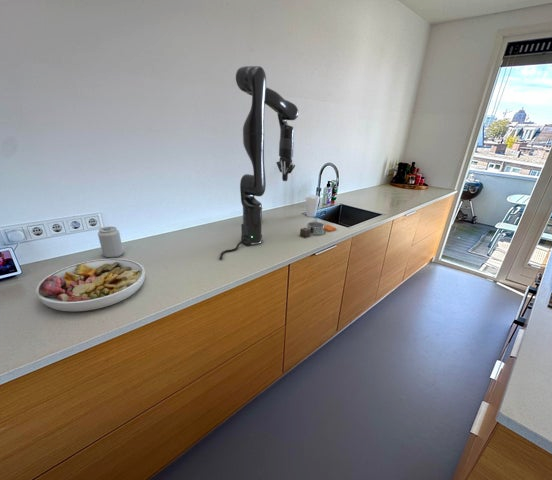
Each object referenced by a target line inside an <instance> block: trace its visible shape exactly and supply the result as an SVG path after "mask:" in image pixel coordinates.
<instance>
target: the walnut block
mask: <svg viewBox="0 0 552 480" xmlns="http://www.w3.org/2000/svg"><path fill="white" fill-rule="evenodd" d="M310 231H311V229H308V228H307V227H302V228H300V229H299V236H300V237H302V238H305V239H306V238H308V237H311V234H310Z"/></svg>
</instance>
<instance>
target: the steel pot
mask: <svg viewBox="0 0 552 480" xmlns="http://www.w3.org/2000/svg"><path fill="white" fill-rule="evenodd" d="M325 225H326V224H324V223H323V222H320V221H310V222H307V226H306V228H308V229H311V231H310V235H312V236H321V235H324V234H325V230H324V229H325Z"/></svg>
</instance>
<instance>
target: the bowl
mask: <svg viewBox="0 0 552 480" xmlns="http://www.w3.org/2000/svg"><path fill="white" fill-rule="evenodd" d="M145 278H146V272H145V267H144V266H143V265H142V264H141V263H139V262H137V261H134V260H131V259H126V258H100V259H93V260H87V261H83V262H79V263H75V264H72V265H69V266H66V267H63V268H59V269H58V270H56V271H54V272H52V273H50V274H49V275H47V276H46V277H44V278H43V279H42V280H41V281H40V282H39V283H38V284H37V285H36V288H35V293H36V296H37V298H38V299H39V301H40V302H41V303H42V304H44V305H45V306H47V307H48V308H50V309H54V310H57V311H63V312H86V311H94V310H98V309H102V308H106V307H109V306H112V305H115V304H117V303H119V302H121V301H124V300H125V299H127V298H129V297H131V296H132V295H133V294H135V293H136V292H137V291H138V290H139V289H140V288H141V287H142V285H143V284H144V281H145Z"/></svg>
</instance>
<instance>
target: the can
mask: <svg viewBox="0 0 552 480" xmlns="http://www.w3.org/2000/svg"><path fill="white" fill-rule="evenodd" d="M97 236H98V240H99V244H100V248H101V253H102V255H103V256H104V257H106V258H107V259H115V258H118V257H121V256H122V254H124V248H123V244H122V239H121V238H122V237H121V235H120V231H119V230H118V229H117V227H116V226H103V227H100V228H99V229H98V232H97Z"/></svg>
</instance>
